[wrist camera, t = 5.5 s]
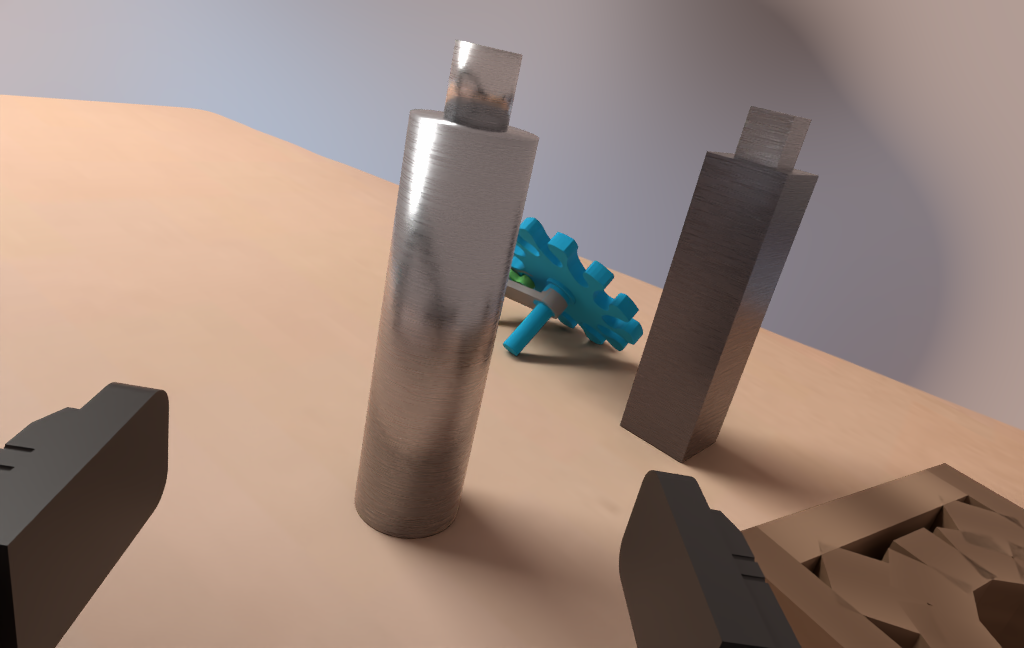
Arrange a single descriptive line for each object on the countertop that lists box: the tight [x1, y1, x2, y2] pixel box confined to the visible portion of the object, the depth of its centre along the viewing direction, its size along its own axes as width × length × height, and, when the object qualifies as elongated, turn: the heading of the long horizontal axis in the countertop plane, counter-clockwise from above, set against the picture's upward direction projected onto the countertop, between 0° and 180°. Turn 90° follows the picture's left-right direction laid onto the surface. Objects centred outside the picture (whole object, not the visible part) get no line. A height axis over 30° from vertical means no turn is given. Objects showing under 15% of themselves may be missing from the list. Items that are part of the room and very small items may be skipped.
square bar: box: [620, 106, 818, 463], centre depth 29 cm, size 3×3×15 cm
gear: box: [503, 217, 643, 356], centre depth 37 cm, size 11×6×10 cm
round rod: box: [355, 40, 539, 538], centre depth 20 cm, size 4×4×15 cm
